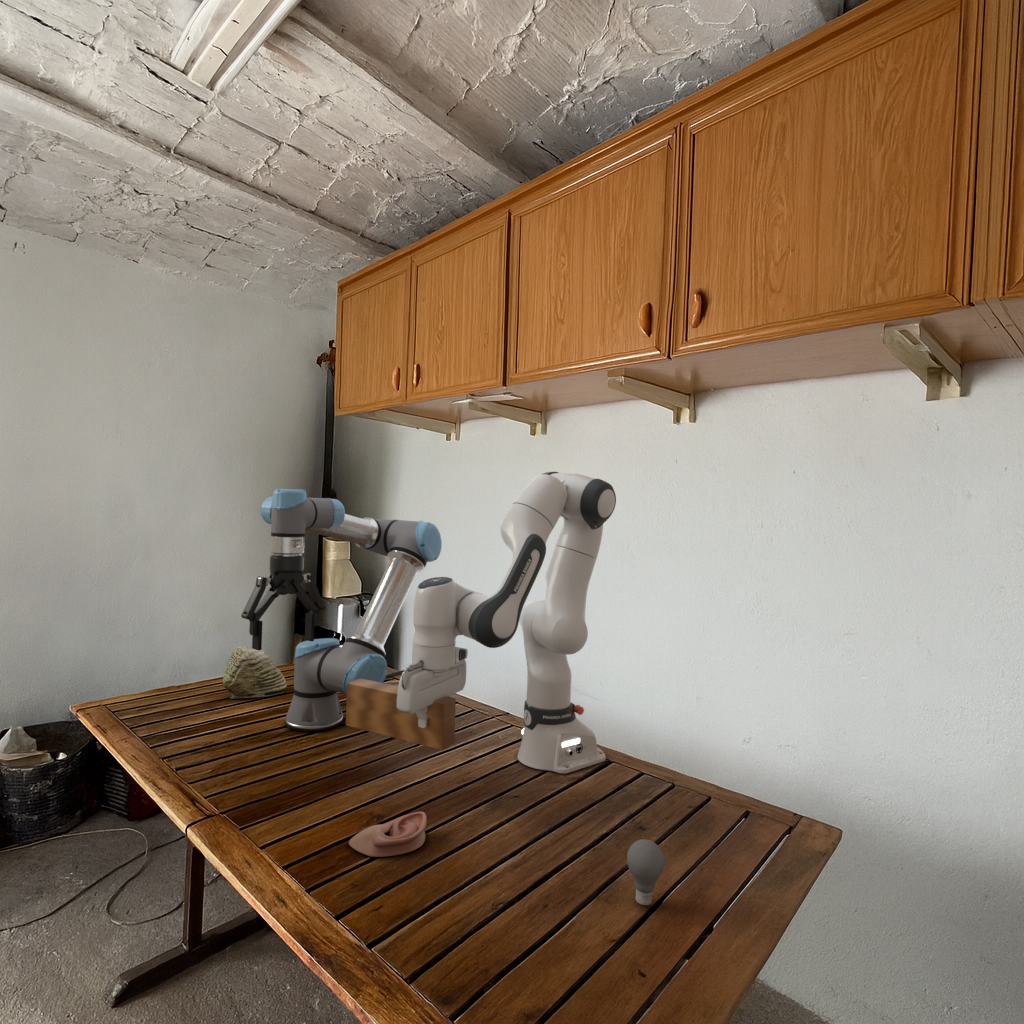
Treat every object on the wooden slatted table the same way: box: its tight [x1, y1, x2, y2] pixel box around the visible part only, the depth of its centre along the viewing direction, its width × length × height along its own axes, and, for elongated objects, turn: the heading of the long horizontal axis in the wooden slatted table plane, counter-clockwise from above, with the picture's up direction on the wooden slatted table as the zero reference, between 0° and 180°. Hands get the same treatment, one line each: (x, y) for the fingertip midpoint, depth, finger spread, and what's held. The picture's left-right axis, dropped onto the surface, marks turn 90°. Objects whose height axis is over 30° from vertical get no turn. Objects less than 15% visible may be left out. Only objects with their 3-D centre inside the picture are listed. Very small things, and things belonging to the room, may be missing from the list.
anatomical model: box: [348, 811, 428, 858], centre depth 117 cm, size 13×4×12 cm
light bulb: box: [626, 838, 666, 906], centre depth 102 cm, size 6×6×10 cm
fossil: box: [222, 646, 288, 699], centre depth 198 cm, size 9×18×15 cm, turn 132°
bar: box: [345, 678, 457, 751], centre depth 135 cm, size 26×4×10 cm, turn 62°
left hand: (283, 644), depth 149 cm, fingers open, 13 cm apart
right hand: (432, 722), depth 132 cm, fingers closed on bar, 4 cm apart
